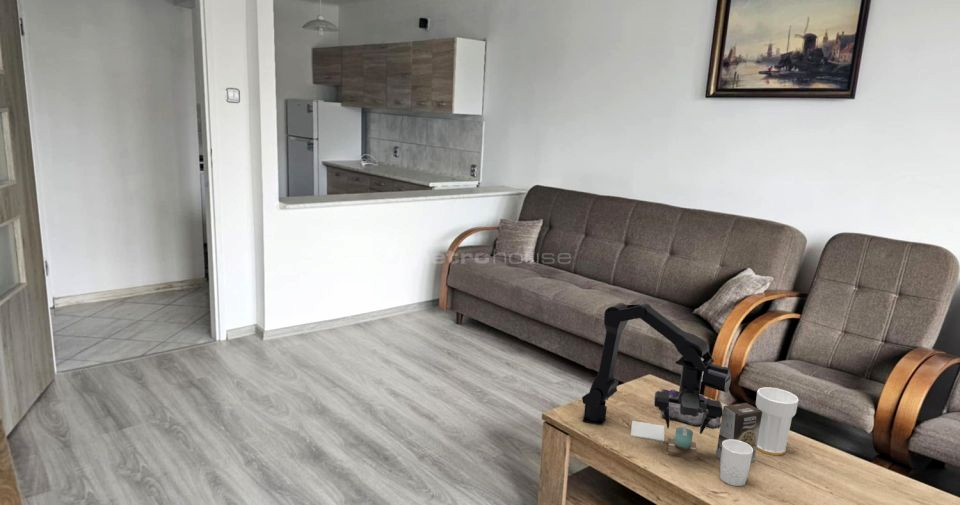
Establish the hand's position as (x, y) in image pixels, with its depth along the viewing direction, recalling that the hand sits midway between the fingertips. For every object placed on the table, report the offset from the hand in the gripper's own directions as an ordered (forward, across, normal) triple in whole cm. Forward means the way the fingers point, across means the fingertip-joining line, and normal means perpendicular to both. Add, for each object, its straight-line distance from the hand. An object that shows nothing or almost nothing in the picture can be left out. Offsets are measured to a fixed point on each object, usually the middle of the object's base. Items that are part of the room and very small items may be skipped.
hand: (684, 430), depth 186 cm
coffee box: (+7, +15, +1) cm, 17 cm away
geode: (+7, +3, +24) cm, 25 cm away
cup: (+7, +26, +12) cm, 29 cm away
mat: (+7, -10, +9) cm, 15 cm away
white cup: (+7, +13, -11) cm, 18 cm away
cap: (+4, 0, 0) cm, 4 cm away
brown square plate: (+7, 0, 0) cm, 7 cm away
